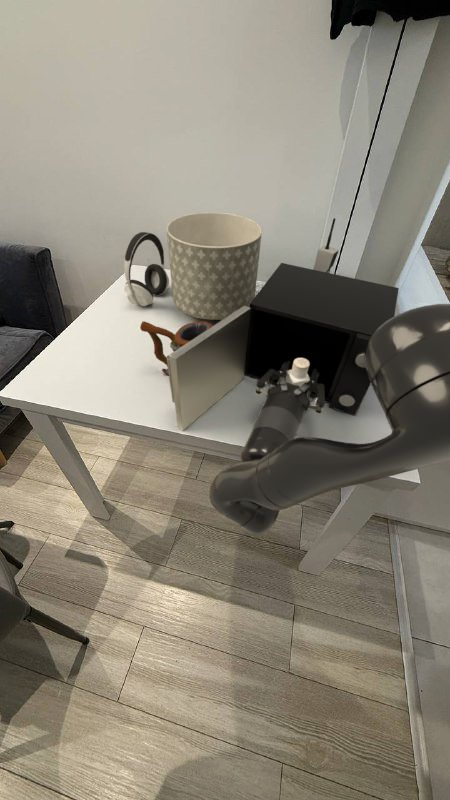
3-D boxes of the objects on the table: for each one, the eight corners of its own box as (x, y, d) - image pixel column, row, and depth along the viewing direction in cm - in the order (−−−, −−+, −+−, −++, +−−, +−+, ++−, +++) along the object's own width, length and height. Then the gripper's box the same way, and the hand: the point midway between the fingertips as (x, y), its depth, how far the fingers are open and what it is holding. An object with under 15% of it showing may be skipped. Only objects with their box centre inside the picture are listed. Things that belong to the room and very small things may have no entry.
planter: (227, 341, 91) (230, 256, 74) (157, 314, 100) (146, 231, 83) (266, 303, 106) (277, 224, 89) (203, 282, 115) (202, 206, 98)
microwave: (354, 418, 73) (389, 346, 59) (239, 381, 81) (245, 309, 66) (368, 356, 89) (398, 287, 74) (270, 330, 96) (281, 262, 82)
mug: (140, 386, 78) (129, 334, 67) (157, 356, 86) (149, 306, 75) (213, 399, 76) (214, 347, 65) (224, 367, 84) (225, 316, 73)
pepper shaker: (288, 403, 71) (296, 370, 64) (281, 390, 74) (288, 357, 67) (305, 400, 72) (315, 367, 65) (298, 388, 74) (306, 355, 67)
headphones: (145, 316, 99) (133, 249, 84) (122, 310, 101) (106, 243, 87) (175, 288, 111) (170, 225, 97) (154, 283, 113) (146, 220, 99)
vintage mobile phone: (319, 305, 107) (342, 222, 88) (306, 300, 109) (325, 218, 90) (324, 300, 109) (347, 219, 91) (311, 295, 111) (331, 214, 93)
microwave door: (165, 418, 71) (153, 345, 57) (226, 369, 83) (230, 298, 69) (182, 431, 69) (175, 358, 55) (243, 378, 81) (250, 308, 67)
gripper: (322, 422, 55) (340, 363, 65) (242, 396, 58) (272, 344, 69) (312, 448, 60) (330, 390, 71) (239, 423, 64) (267, 371, 75)
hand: (301, 368), depth 70 cm, fingers closed on pepper shaker, 5 cm apart
